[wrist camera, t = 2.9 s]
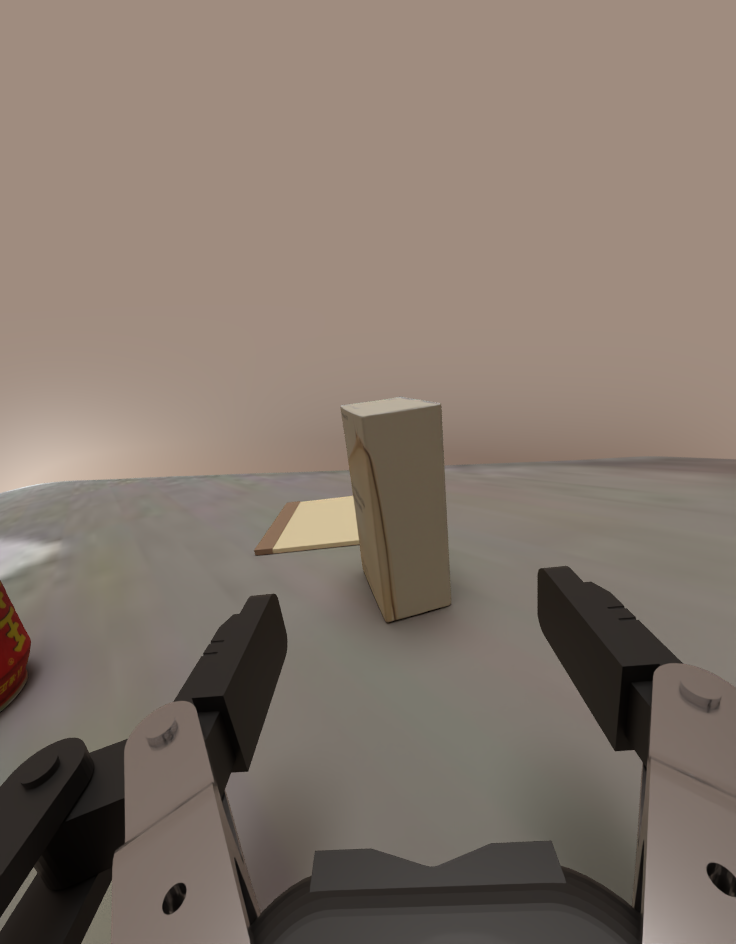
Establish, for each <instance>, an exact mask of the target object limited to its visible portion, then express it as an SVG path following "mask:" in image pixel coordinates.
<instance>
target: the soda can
mask: <svg viewBox="0 0 736 944" xmlns="http://www.w3.org/2000/svg"><path fill="white" fill-rule="evenodd" d="M30 646H31V640H30V637H29V636H28V634H27V632H26V630H25V628H24V627H23V625H22V623H21V621H20V619H19V617H18V614H17V613H16V611H15V609H14V606H13V604H12V603H11V601H10V599H9V597H8V595H7V593H6V590H5V588H4V586H3V584H2V582H1V581H0V712H1V711H2V710H3V709H4V708H5V707H6V706H7V705H8V704H9V703H10V702H11V701H12V700H13V699H14V698H15V697H16V696H17V695H18V694H19V693H20V691H21V690H22V688H23V686H24V685H25V683H26V681H27V679H28V671H27V670H26V668H25V667H26V664H27V661H28V657H29V653H30Z"/></svg>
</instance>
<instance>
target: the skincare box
mask: <svg viewBox="0 0 736 944" xmlns="http://www.w3.org/2000/svg"><path fill="white" fill-rule="evenodd" d="M340 408H341V414H342V421H343V427H344V434H345V441H346V448H347V455H348V462H349V470H350V476H351V484H352V491H353V498H354V506H355V513H356V521H357V529H358V536H359V544H360V551H361V559H362V566H363V570H364V573H365V575H366V578H367V580H368V583H369V585H370V587H371V590H372V592H373V594H374V597H375V599H376V601H377V603H378V606H379V608H380V610H381V612H382V615H383V617H384V619H385V621H386V622H391V621H394V620H398V619H402V618H405V617H409V616H413V615H416V614H420V613H423V612H427V611H430V610H434V609H437V608H441V607H445V606H448V605H450V604H451V589H450V570H449V550H448V530H447V510H446V490H445V471H444V450H443V430H442V410H441V403H434V402H428V401H424V400H418V399H410V398H405V397H397V398H391V399H384V400H378V401H371V402H364V403H357V404H350V405H341V406H340Z"/></svg>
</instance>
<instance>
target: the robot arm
mask: <svg viewBox="0 0 736 944" xmlns="http://www.w3.org/2000/svg"><path fill="white" fill-rule="evenodd" d="M538 619H539V623H540V627H541V629H542V632H543V634H544V636H545V637H546V639H547V641H548V642H549V644H550V646H551V647H552V649H553V650H554V652H555V654H556V655H557V657H558V659H559V660H560V662H561V664H562V665H563V667H564V668H565V670H566V672H567V673H568V675H569V677H570V678H571V680H572V682H573V683H574V685H575V686H576V688H577V690H578V691H579V693H580V695H581V696H582V698H583V700H584V701H585V703H586V705H587V706H588V708H589V709H590V711H591V713H592V714H593V716H594V718H595V719H596V721H597V723H598V724H599V726H600V727H601V729H602V731H603V732H604V734H605V736H606V737H607V739H608V741H609V742H610V744H611V745H612V747H613V749H614V750H615V751H625V750H635V751H636V753H637V754H638V756H639V757H640V759H641V760H642V762H643V765H642V774H641V789H640V804H639V818H638V833H637V848H636V862H635V874H634V884H633V895H632V906H631V905H629V904H628V903H627V902H626V901H625V900H623V899H622V898H621V897H619V896H618V895H616V894H615V893H614V892H612V891H611V890H609V889H608V888H607V887H605V886H603V885H602V884H600V883H598V882H596V881H595V880H593V879H591V878H589V877H588V876H586V875H583V874H581V873H579V872H577V871H574V870H572V869H570V868H566V867H563V866H560V863H559V861H558V858H557V855H556V852H555V850H554V847H553V844H552V841H533V842H510V843H491V844H488V845H486V846H484V847H481V848H479V849H477V850H474V851H472V852H469V853H467V854H465V855H462V856H460V857H458V858H455V859H453V860H451V861H448V862H446V863H443V864H441V865H439V866H435V867H429V866H425V865H421V864H418V863H415V862H412V861H409V860H406V859H402V858H399V857H396V856H393V855H390V854H387V853H384V852H380V851H377V850H374V849H349V850H326V851H315V855H314V862H313V870H312V876H309V877H307V878H305V879H303V880H301V881H300V882H298V883H296V884H295V885H293V886H291V887H290V888H288V889H287V890H286V891H285V892H283V893H282V894H281V895H280V896H278V897H277V898H276V899H275V900H274V901H273V902H272V903H271V904H270V905H269V906H268V907H267V908H266V909H265V910H264V911H263V912H262V913H261V912H260V909H259V906H258V903H257V899H256V896H255V893H254V890H253V887H252V884H251V880H250V877H249V873H248V870H247V866H246V863H245V859H244V855H243V852H242V848H241V844H240V841H239V837H238V833H237V830H236V826H235V822H234V819H233V815H232V811H231V808H230V804H229V800H228V797H227V794H226V791H225V787H226V785H227V782H228V779H229V777H230V774H231V772H248V770H249V767H250V764H251V761H252V758H253V755H254V752H255V749H256V746H257V743H258V739H259V736H260V733H261V730H262V727H263V724H264V721H265V718H266V715H267V712H268V709H269V706H270V703H271V700H272V697H273V694H274V691H275V687H276V684H277V681H278V678H279V675H280V672H281V669H282V666H283V663H284V660H285V657H286V653H287V633H286V629H285V625H284V621H283V617H282V613H281V609H280V605H279V600H278V597H277V596H276V594H266V595H256V596H250V597H249V598H248V600H247V602H246V604H245V605H244V607H243V609H242V611H241V612H240V614H234V615H232V616H231V617H230V618H229V619H228V620H227V621H226V622H225V623H224V624H222V625H221V626H220V627H219V629H218V630H217V632H216V634H215V635H214V637H213V639H212V640H211V644H209V645H208V647H207V648H206V650H205V652H204V653H203V654H204V655H203V656H201V658H200V660H199V661H198V663H197V664H196V666H195V668H194V669H193V671H192V673H191V674H190V676H189V677H188V679H187V681H186V682H185V684H184V686H183V687H182V689H181V690H180V692H179V694H178V695H177V697H176V698H175V700H174V702H172V703H169V704H166V705H164V706H162V707H160V708H158V709H156V710H155V711H153V712H152V713H151V714H149V715H148V716H147V717H146V718H144V719H143V720H142V721H141V722H140V723H139V724H138V725H137V726H136V728H135V729H134V730H133V732H132V733H131V735H130V736H129V738H128V739H126V740H123V741H121V742H118V743H115V744H112V745H110V746H107V747H104V748H102V749H99V750H96V751H93V752H91V753H89V752H88V750H87V748H86V746H85V744H84V742H83V741H82V740H81V739H79V738H67V739H63V740H60V741H57V742H55V743H53V744H50V745H49V746H47V747H45V748H43V749H42V750H40V751H38V752H37V753H35V754H34V755H33V756H31V757H30V758H28V759H27V760H26V761H25V762H24V763H22V764H21V765H20V766H19V767H18V768H17V769H16V770H15V771H14V772H13V773H12V774H11V775H10V776H9V777H8V778H7V780H6V781H5V782H4V783H3V784H2V785H1V787H0V917H1V916H2V914H3V913H4V911H5V910H6V908H7V907H8V905H9V904H10V902H11V900H12V899H13V897H14V896H15V894H16V893H17V891H18V890H19V888H20V887H21V885H22V884H23V882H24V881H25V879H26V878H27V876H28V874H29V873H30V871H31V870H32V868H33V867H34V868H35V869H36V871H37V875H36V876H35V878H34V880H33V881H32V883H31V884H30V886H29V887H28V889H27V891H26V892H25V894H24V895H23V897H22V898H21V900H20V902H19V903H18V905H17V906H16V908H15V909H14V911H13V913H12V914H11V916H10V917H9V919H8V920H7V922H6V924H5V925H4V927H3V928H2V930H1V931H0V944H81V943H82V941H83V938H84V936H85V934H86V932H87V930H88V928H89V926H90V924H91V922H92V920H93V918H94V916H95V914H96V912H97V910H98V907H99V905H100V903H101V901H102V899H103V897H104V895H105V893H106V891H107V889H108V887H109V885H110V883H111V881H112V923H111V944H736V688H735V687H734V686H733V685H731V684H730V683H729V682H727V681H725V680H724V679H722V678H721V677H719V676H717V675H715V674H713V673H711V672H709V671H706V670H704V669H701V668H698V667H695V666H691V665H687V664H683V663H682V662H681V661H680V660H679V659H678V658H677V657H676V656H675V655H674V654H673V653H672V652H671V651H670V650H669V649H668V648H667V647H666V646H665V645H663V644H662V643H661V642H660V641H659V640H658V639H657V638H656V637H655V636H654V635H653V634H652V633H651V632H650V631H649V630H648V629H647V628H646V627H645V626H644V625H643V624H642V623H641V622H640V621H639V620H636V617H635V616H634V615H633V614H632V613H631V612H630V611H629V610H628V609H627V608H626V609H625V608H624V605H623V604H622V603H621V602H620V601H619V600H618V599H617V598H616V597H615V596H613V595H612V594H611V593H610V592H609V591H607V590H605V589H603V588H602V587H600V586H598V585H596V584H594V583H593V582H583V581H582V580H581V579H580V578H579V577H578V576H577V575H576V574H575V573H574V572H573V571H572V569H571V568H569V567H568V566H561V567H551V568H541V569H539V571H538Z"/></svg>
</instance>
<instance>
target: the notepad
mask: <svg viewBox="0 0 736 944" xmlns="http://www.w3.org/2000/svg"><path fill="white" fill-rule="evenodd" d="M358 544H359V536H358V529H357V521H356V513H355V506H354V498H353V496H348V497H340V498H331V499H323V500H314V501H305V502H300V501H298V502H290V503H286V505H285V506H284V508H283V509H282V511H281V512H280V513H279V515H278V516H277V518H276V519H275V521H274V522H273V524H272V525H271V527H270V528H269V529H268V531H267V532H266V534H265V535H264V537H263V538H262V540H261V541H260V543H259V544H258V545H257V547H256V548H255V550H254V552H255V555H264V554H273V553H283V552H292V551H302V550H311V549H321V548H330V547H340V546H349V545H358Z"/></svg>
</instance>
